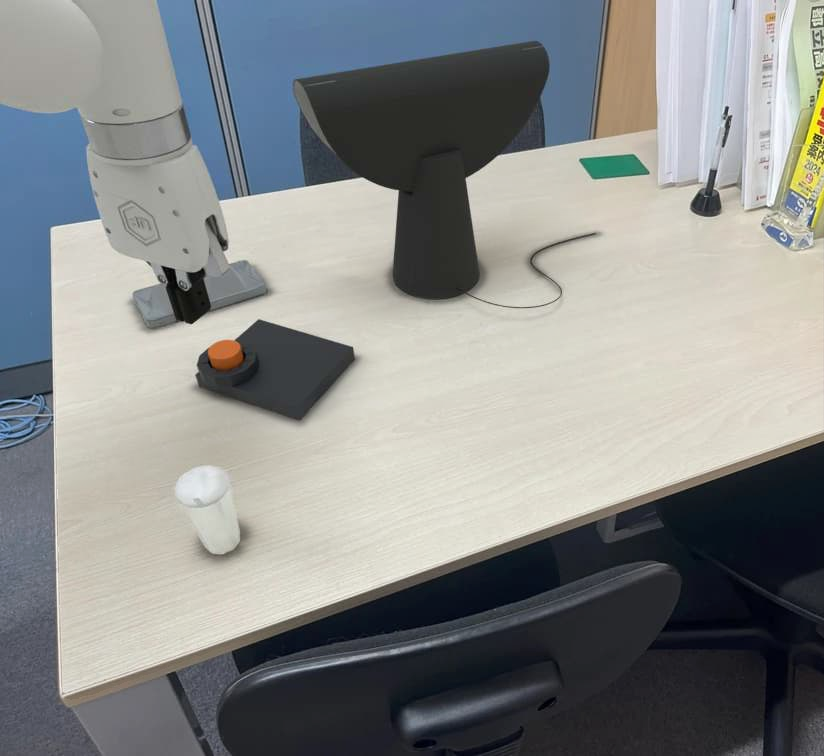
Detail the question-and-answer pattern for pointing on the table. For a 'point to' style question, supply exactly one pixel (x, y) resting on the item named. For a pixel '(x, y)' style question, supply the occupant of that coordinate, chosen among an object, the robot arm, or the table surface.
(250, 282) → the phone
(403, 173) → the table lamp
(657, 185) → the table surface
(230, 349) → the button
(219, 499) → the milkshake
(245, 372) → the dark grey flat block
